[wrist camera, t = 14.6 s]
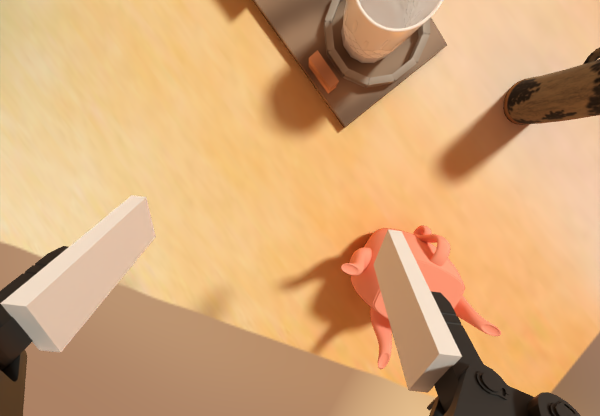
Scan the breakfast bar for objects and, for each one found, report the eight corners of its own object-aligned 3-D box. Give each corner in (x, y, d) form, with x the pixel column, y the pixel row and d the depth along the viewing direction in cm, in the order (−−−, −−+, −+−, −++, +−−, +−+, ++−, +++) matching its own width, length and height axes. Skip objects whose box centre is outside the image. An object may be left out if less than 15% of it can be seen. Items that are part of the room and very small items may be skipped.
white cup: (334, 69, 31) (349, 31, 21) (337, -7, 29) (355, -86, 19) (399, 69, 31) (444, 32, 21) (406, -6, 29) (459, -86, 19)
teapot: (449, 286, 38) (506, 339, 27) (360, 315, 40) (381, 376, 29) (425, 199, 35) (478, 221, 24) (329, 233, 37) (340, 268, 26)
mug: (527, 133, 33) (649, 124, 21) (493, 112, 32) (600, 90, 21) (569, 75, 31) (727, 31, 20) (534, 52, 31) (676, -8, 19)
